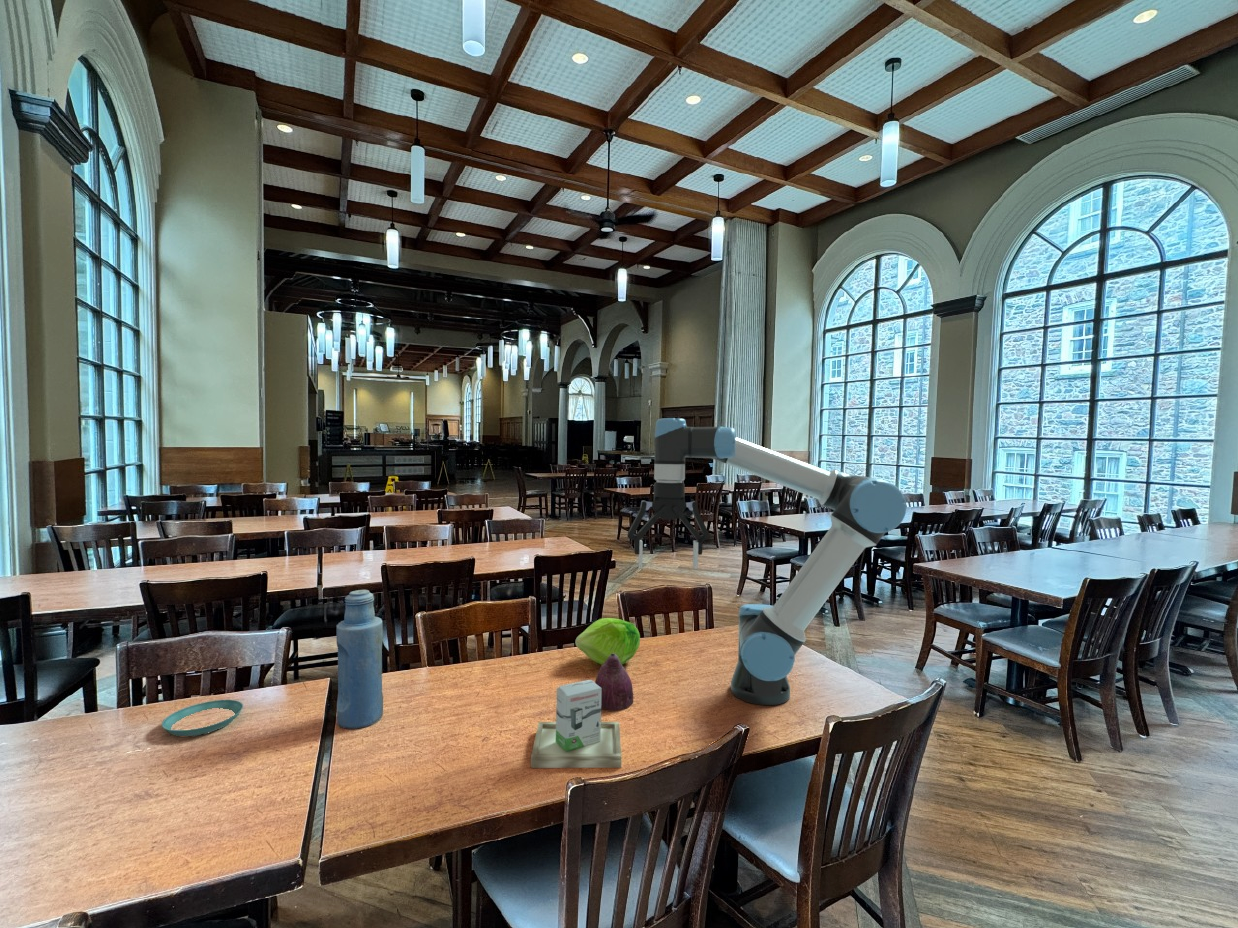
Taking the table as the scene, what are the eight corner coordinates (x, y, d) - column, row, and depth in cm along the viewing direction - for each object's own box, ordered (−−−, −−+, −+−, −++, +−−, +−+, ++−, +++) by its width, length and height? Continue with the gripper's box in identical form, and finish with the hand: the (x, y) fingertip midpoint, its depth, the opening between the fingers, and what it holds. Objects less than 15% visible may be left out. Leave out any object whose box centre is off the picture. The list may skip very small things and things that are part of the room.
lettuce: (566, 662, 165) (569, 615, 168) (627, 664, 172) (629, 618, 176) (583, 668, 152) (586, 616, 155) (648, 669, 159) (650, 620, 163)
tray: (618, 731, 124) (618, 721, 124) (621, 767, 110) (621, 756, 110) (538, 731, 124) (538, 721, 124) (530, 767, 110) (530, 756, 110)
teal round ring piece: (224, 704, 135) (223, 693, 135) (256, 720, 128) (256, 708, 128) (149, 730, 122) (149, 718, 122) (180, 749, 115) (180, 737, 115)
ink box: (565, 752, 113) (565, 695, 112) (554, 741, 117) (555, 686, 117) (601, 741, 117) (602, 686, 117) (590, 731, 121) (591, 678, 121)
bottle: (390, 719, 129) (390, 591, 128) (346, 734, 121) (346, 599, 121) (372, 705, 135) (373, 584, 134) (329, 719, 128) (330, 591, 127)
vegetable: (627, 724, 134) (633, 673, 130) (586, 714, 136) (591, 663, 132) (636, 696, 144) (642, 647, 139) (597, 687, 146) (602, 638, 141)
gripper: (716, 481, 140) (715, 564, 140) (618, 480, 139) (616, 563, 139) (723, 483, 132) (721, 571, 133) (619, 481, 131) (617, 570, 132)
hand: (667, 567), depth 136 cm, fingers open, 13 cm apart
